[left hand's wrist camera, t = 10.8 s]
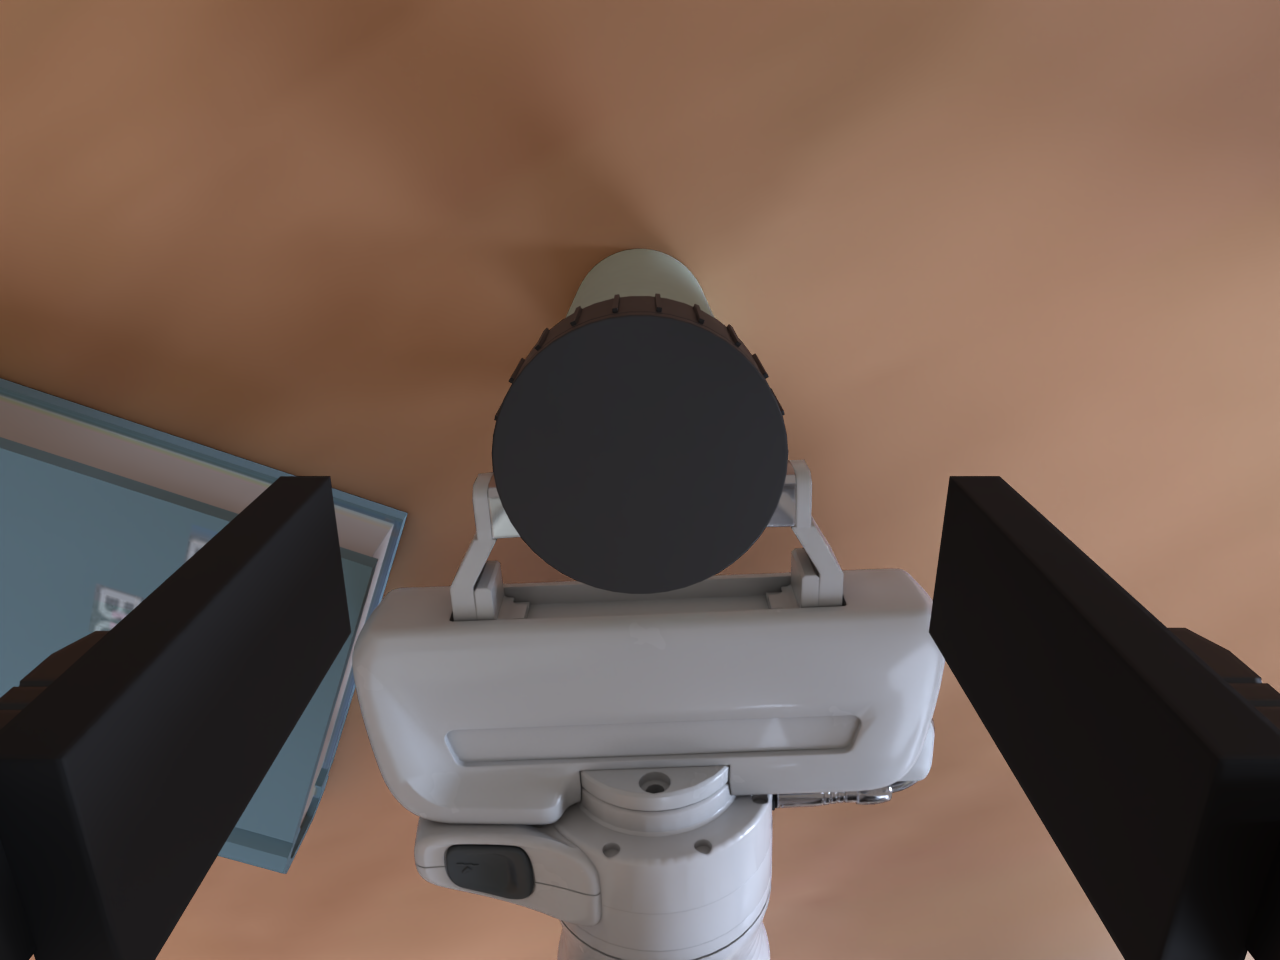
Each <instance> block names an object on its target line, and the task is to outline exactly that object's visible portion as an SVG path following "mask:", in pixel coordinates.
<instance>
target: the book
mask: <svg viewBox="0 0 1280 960" xmlns="http://www.w3.org/2000/svg"><path fill="white" fill-rule="evenodd" d="M280 476H294V475H291V474H288V473H285V472H282V471H279V470H276V469H273V468H270V467H267V466H264V465H261V464H258V463H255V462H252V461H249V460H246V459H243V458H240V457H237V456H234V455H231V454H228V453H225V452H222V451H219V450H216V449H213V448H210V447H207V446H203V445H200V444H197V443H194V442H191V441H188V440H185V439H182V438H179V437H176V436H173V435H170V434H167V433H164V432H161V431H158V430H155V429H152V428H149V427H146V426H143V425H140V424H137V423H134V422H131V421H128V420H125V419H122V418H119V417H116V416H113V415H110V414H107V413H104V412H101V411H98V410H95V409H92V408H89V407H86V406H83V405H80V404H77V403H74V402H71V401H68V400H65V399H62V398H59V397H56V396H53V395H50V394H47V393H44V392H41V391H38V390H34V389H31V388H28V387H25V386H22V385H19V384H16V383H13V382H10V381H7V380H4V379H1V378H0V698H1V697H2V696H3V695H4V694H5V693H6V692H8V691H9V690H10V689H11V688H12V687H19V685H20V680H22V679H23V678H24V677H25V676H26V675H27V674H29V673H30V672H31V671H32V670H33V669H35V668H36V667H37V666H38V665H39V664H40V663H42V662H43V661H44V660H45V659H46V658H47V657H49V656H50V655H51V654H52V653H54V652H56V651H58V650H60V649H62V648H64V647H66V646H68V645H70V644H72V643H73V642H75V641H77V640H79V639H81V638H83V637H85V636H87V635H89V634H91V633H92V632H94V631H110V630H111V629H112V628H113V627H114V626H116V625H117V624H118V623H119V622H120V621H121V620H122V619H123V618H124V617H126V616H127V615H128V614H129V613H130V612H131V611H132V610H133V609H134V608H135V607H137V606H138V605H139V604H140V603H141V602H142V601H143V600H144V599H145V598H147V597H148V596H149V595H150V594H151V593H152V592H153V591H154V590H155V589H156V588H158V587H159V586H160V585H161V584H162V583H163V582H164V581H165V580H166V579H168V578H169V577H170V576H171V575H172V574H173V573H174V572H175V571H176V570H177V569H179V568H180V567H181V566H182V565H183V564H184V563H185V562H186V561H187V560H189V559H190V558H191V557H192V556H193V555H194V554H195V553H196V552H197V551H198V550H200V549H201V548H202V547H203V546H204V545H205V544H206V543H207V542H208V541H210V540H211V539H212V538H213V537H214V536H215V535H216V534H217V533H218V532H219V531H221V530H222V529H223V528H224V527H225V526H226V525H227V524H228V523H229V522H231V521H232V520H233V519H234V518H235V517H236V516H237V515H238V514H239V513H240V512H242V511H243V510H244V509H245V508H246V507H247V506H248V505H249V504H250V503H252V502H253V501H254V500H255V499H256V498H257V497H258V496H259V495H260V494H261V493H263V492H264V491H265V490H266V489H267V488H268V487H269V486H270V485H271V484H273V483H274V482H275V481H276V480H277V479H278V478H279V477H280ZM332 493H333V501H334V508H335V515H336V523H337V530H338V538H339V545H340V552H341V560H342V567H343V574H344V582H345V589H346V596H347V604H348V611H349V619H350V626H351V634H350V635H349V637H348V639H347V640H346V642H345V644H344V645H343V647H342V649H341V650H340V652H339V654H338V655H337V657H336V659H335V660H334V662H333V664H332V665H331V667H330V669H329V670H328V672H327V674H326V675H325V677H324V679H323V680H322V682H321V684H320V685H319V687H318V689H317V690H316V692H315V694H314V695H313V697H312V699H311V700H310V702H309V704H308V705H307V707H306V709H305V710H304V712H303V714H302V715H301V717H300V719H299V720H298V722H297V724H296V725H295V727H294V729H293V730H292V732H291V734H290V735H289V737H288V739H287V740H286V742H285V744H284V745H283V747H282V749H281V750H280V752H279V754H278V755H277V757H276V759H275V760H274V762H273V764H272V765H271V767H270V769H269V770H268V772H267V774H266V775H265V777H264V779H263V780H262V782H261V784H260V785H259V787H258V789H257V790H256V792H255V794H254V795H253V797H252V799H251V801H250V802H249V804H248V806H247V807H246V809H245V811H244V812H243V814H242V816H241V817H240V819H239V821H238V822H237V824H236V826H235V827H234V829H233V831H232V832H231V834H230V836H229V837H228V839H227V841H226V842H225V844H224V846H223V847H222V849H221V851H220V852H219V854H218V856H221V857H225V858H228V859H232V860H236V861H239V862H243V863H247V864H250V865H254V866H257V867H261V868H265V869H268V870H272V871H276V872H279V873H283V874H287V871H288V869H289V867H290V865H291V863H292V861H293V859H294V857H295V855H296V853H297V851H298V849H299V847H300V845H301V843H302V841H303V839H304V837H305V835H306V833H307V831H308V829H309V827H310V824H311V822H312V820H313V818H314V815H315V813H316V810H317V808H318V805H319V803H320V800H321V798H322V795H323V792H324V790H325V786H326V783H327V780H328V773H329V770H330V768H331V765H332V763H333V760H334V756H335V753H336V750H337V746H338V743H339V740H340V736H341V733H342V730H343V726H344V723H345V720H346V716H347V713H348V710H349V706H350V703H351V700H352V696H353V693H354V690H355V687H356V686H355V681H354V675H353V667H352V656H353V650H354V646H355V643H356V641H357V638H358V636H359V634H360V632H361V630H362V628H363V626H364V624H365V623H366V621H367V620H368V618H369V617H370V615H371V614H372V612H373V611H374V609H375V608H376V607H377V606H378V605H379V603H380V602H381V600H382V597H383V593H384V590H385V587H386V583H387V580H388V577H389V574H390V570H391V567H392V564H393V560H394V557H395V554H396V550H397V547H398V544H399V540H400V537H401V534H402V530H403V527H404V524H405V520H406V517H407V514H408V513H406V512H403V511H400V510H397V509H394V508H391V507H388V506H385V505H382V504H379V503H376V502H372V501H369V500H366V499H363V498H360V497H357V496H354V495H351V494H348V493H345V492H342V491H339V490H336V489H333V488H332Z"/></svg>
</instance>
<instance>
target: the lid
mask: <svg viewBox="0 0 1280 960" xmlns="http://www.w3.org/2000/svg"><path fill="white" fill-rule="evenodd" d="M767 377H769V376H768V374H767V373H766V371H765V369H764V367H763V366H762V364H761V362H760V360H759V359H758V357H757V355H756V354H754V355H751V353H750V352H749V350H748V349H747V348H746V346H745V345H744V344H743V342H742V341H741V340H740V339H739V338H738V337H737V335H736V333H735V331H734V329H733V327H732V326H731V325H728V326H727V327H726V326H725V325H723V324H722V323H721V322H720V321H718V320H717V319H716V318H714V317H712V316H710V315H709V314H707V313H705V312H704V311H702V310H701V309H700V307H699V305H697V304H694V306H690V305H688V304H686V303H682V302H679V301H675V300H671V299H668V298H661V296H660V294H657V293H655V297H653V296H627V297H620V295H619V294H616V295H614V298H612V299H609V300H605V301H601V302H598V303H594V304H592V305H590V306H587V307H585V308H583V309H582V308H581V306H579V307H577V308H576V309H575V312H574V313H573V314H571V315H570V316H568V317H566V318H564V319H563V320H562V321H560V322H559V323H558V324H557V325H555V326H554V327H553V328H551V329H550V330H549V329H548V328H546V329H545V330H544V331H543V333H542V335H541V337H540V339H539V340H538V342H537V344H536V345H535V346H534V348H533V349H532V351H531V352H530V353H529V355H528V356H527V358H526V359H523V358H522V359H521V360H520V362H519V364H518V366H517V367H516V369H515V371H514V373H513V374H512V376H511V378H510V380H509V382H510V383H512V385H511V387H510V389H509V390H508V392H507V394H506V396H505V398H504V400H503V402H502V404H501V406H500V408H499V410H498V411H497V413H496V415H495V419H494V420H496V425H495V429H494V434H493V445H492V464H493V474H494V479H495V484H496V489H497V492H498V495H499V498H500V501H501V503H502V506H503V508H504V510H505V512H506V514H507V516H508V518H509V520H510V522H511V524H512V525H513V527H514V528H515V530H516V531H517V532H518V534H519V535H520V537H521V538H522V539H523V540H524V541H525V543H526V544H527V545H528V546H529V547H530V548H531V549H532V550H533V551H534V552H535V553H536V554H537V555H538V556H539V557H541V558H542V559H543V560H544V561H545V562H546V563H548V564H549V565H551V566H552V567H554V568H555V569H556V570H558V571H559V572H561V573H563V574H565V575H567V576H569V577H570V578H572V579H574V580H576V581H578V582H581V583H584V584H587V585H589V586H592V587H595V588H599V589H603V590H607V591H612V592H619V593H627V594H653V593H661V592H669V591H673V590H677V589H681V588H685V587H688V586H691V585H693V584H696V583H699V582H702V581H704V580H706V579H708V578H710V577H712V576H713V575H715V574H717V573H719V572H721V571H722V570H724V569H725V568H726V567H728V566H729V565H731V564H732V563H734V562H735V561H736V560H737V559H738V558H740V557H741V556H742V555H743V554H744V553H745V552H746V551H747V550H748V549H749V548H750V547H751V546H752V545H753V544H754V543H755V541H756V540H757V539H758V538H759V537H760V535H761V534H762V532H763V531H764V530H765V528H766V527H767V525H768V524H769V522H770V520H771V518H772V516H773V514H774V512H775V510H776V508H777V506H778V503H779V501H780V498H781V495H782V492H783V489H784V484H785V479H786V474H787V464H788V444H787V434H786V429H785V425H784V420H783V416H782V415H784V411H783V409H782V407H781V405H780V403H779V401H778V400H777V398H776V396H775V394H774V392H773V391H772V389H771V388H770V387H769V385H768V383H767V381H766V378H767Z"/></svg>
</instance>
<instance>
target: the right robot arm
mask: <svg viewBox="0 0 1280 960" xmlns="http://www.w3.org/2000/svg"><path fill="white" fill-rule="evenodd" d="M473 507H474V516H475V524H476V533H475V535H474V537H473V539H472V541H471V543H470V545H469V547H468V549H467V551H466V553H465V555H464V557H463V559H462V561H461V564H460V566H459V568H458V571H457V573H456V575H455V578H454V580H453V582H452V584H451V586H436V587H406V588H397V589H394V590H392V591H390V592H389V593H388V594H387V595H386V596H385V597H384V598H383V600H382V601H381V602H380V603H379V605H378V606H377V607H376V608H375V609H374V611H373V612H372V614H371V615H370V617H369V618H368V620H367V621H366V623H365V624H364V626H363V628H362V630H361V632H360V634H359V636H358V638H357V641H356V643H355V646H354V650H353V656H352V667H353V675H354V681H355V686H356V691H357V696H358V700H359V704H360V708H361V712H362V716H363V720H364V723H365V727H366V730H367V734H368V737H369V740H370V743H371V747H372V749H373V752H374V755H375V758H376V761H377V764H378V767H379V769H380V772H381V775H382V777H383V779H384V781H385V783H386V785H387V787H388V788H389V790H390V792H391V793H392V795H393V796H394V797H395V798H396V800H397V801H398V802H399V803H400V804H401V805H402V806H403V807H405V808H406V809H407V810H409V811H410V812H412V813H413V814H415V815H417V816H419V821H418V827H417V833H416V840H415V848H414V857H415V864H416V868H417V871H418V872H419V874H420V876H421V877H422V878H423V879H425V880H426V881H428V882H430V883H432V884H434V885H437V886H441V887H445V888H449V889H454V890H459V891H464V892H469V893H473V894H478V895H482V896H487V897H491V898H495V899H499V900H503V901H506V902H510V903H513V904H517V905H520V906H524V907H527V908H530V909H533V910H536V911H539V912H541V913H544V914H547V915H549V916H552V917H554V918H557V919H559V921H560V923H561V925H562V932H561V936H560V940H559V946H558V956H557V960H770V949H769V942H768V937H767V933H766V929H765V927H764V924H763V921H762V920H763V917H764V915H765V912H766V909H767V906H768V903H769V898H770V892H771V877H772V810H775V808H780V807H781V808H790V807H814V806H822V804H823V805H828V804H829V803H830V804H835V803H843V802H845V803H852V802H855V803H856V804H861V805H872V804H879V803H884V802H887V801H890V800H891V798H892V793H894V792H898V791H902V790H904V789H906V788H908V787H910V786H912V785H914V784H915V783H916V782H918V781H920V780H923V779H924V778H925V777H926V776H927V774H928V773H929V771H930V768H931V765H932V756H933V745H934V733H935V727H934V721H933V718H932V716H933V713H934V710H935V706H936V702H937V698H938V694H939V690H940V685H941V680H942V675H943V670H944V664H945V659H944V657H943V655H942V654H941V652H940V650H939V649H938V647H937V645H936V644H935V642H934V640H933V639H932V637H931V635H930V634H929V626H930V619H931V611H932V604H933V600H932V599H931V597H930V596H929V595H928V594H927V592H926V591H925V590H924V589H923V588H922V587H921V585H920V584H919V583H918V582H917V581H916V580H915V579H914V578H913V577H912V576H911V575H910V574H909V573H907V572H906V571H904V570H902V569H895V568H886V569H862V570H842V569H841V567H840V565H839V563H838V561H837V559H836V557H835V555H834V553H833V551H832V548H831V546H830V545H829V543H828V541H827V540H826V538H825V537H824V535H823V533H822V532H821V530H820V528H819V527H818V525H817V524H816V522H815V520H814V519H813V517H812V515H811V508H812V479H811V472H810V469H809V467H808V466H807V464H806V462H805V460H790V461H789V460H788V464H787V474H786V479H785V484H784V489H783V492H782V495H781V498H780V501H779V503H778V506H777V508H776V510H775V512H774V514H773V516H772V518H771V520H770V522H769V524H768V525H767V527H788V526H791V528H792V530H793V531H794V533H795V535H796V536H797V538H798V539H799V541H800V543H801V544H802V546H803V548H795V549H794V550H793V551H792V552H791V572H787V573H762V574H737V575H713V576H712V577H710V578H708V579H706V580H704V581H702V582H699V583H696V584H693V585H691V586H688V587H685V588H681V589H677V590H673V591H669V592H661V593H653V594H627V593H619V592H612V591H607V590H603V589H599V588H595V587H592V586H589V585H587V584H584V583H581V582H578V581H562V582H537V583H512V584H503V580H502V573H501V565H500V562H498V561H487V562H486V560H487V558H488V556H489V554H490V552H491V550H492V548H493V546H494V544H495V542H496V540H497V538H511V537H520V535H519V534H518V532H517V531H516V530H515V528H514V527H513V525H512V524H511V522H510V520H509V518H508V516H507V514H506V512H505V510H504V508H503V506H502V503H501V501H500V498H499V495H498V492H497V489H496V484H495V479H494V474H493V472H491V473H480V474H478V476H477V478H476V480H475V482H474V485H473ZM485 562H486V563H485Z"/></svg>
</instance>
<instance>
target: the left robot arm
mask: <svg viewBox="0 0 1280 960" xmlns="http://www.w3.org/2000/svg"><path fill="white" fill-rule="evenodd" d="M350 634H351V626H350V619H349V611H348V604H347V596H346V589H345V582H344V574H343V567H342V560H341V552H340V545H339V538H338V530H337V523H336V515H335V508H334V501H333V493H332V486H331V479H330V476H280V477H279V478H278V479H277V480H276V481H275V482H274V483H273V484H271V485H270V486H269V487H268V488H267V489H266V490H265V491H264V492H263V493H261V494H260V495H259V496H258V497H257V498H256V499H255V500H254V501H253V502H252V503H250V504H249V505H248V506H247V507H246V508H245V509H244V510H243V511H242V512H240V513H239V514H238V515H237V516H236V517H235V518H234V519H233V520H232V521H231V522H229V523H228V524H227V525H226V526H225V527H224V528H223V529H222V530H221V531H219V532H218V533H217V534H216V535H215V536H214V537H213V538H212V539H211V540H210V541H208V542H207V543H206V544H205V545H204V546H203V547H202V548H201V549H200V550H198V551H197V552H196V553H195V554H194V555H193V556H192V557H191V558H190V559H189V560H187V561H186V562H185V563H184V564H183V565H182V566H181V567H180V568H179V569H177V570H176V571H175V572H174V573H173V574H172V575H171V576H170V577H169V578H168V579H166V580H165V581H164V582H163V583H162V584H161V585H160V586H159V587H158V588H156V589H155V590H154V591H153V592H152V593H151V594H150V595H149V596H148V597H147V598H145V599H144V600H143V601H142V602H141V603H140V604H139V605H138V606H137V607H135V608H134V609H133V610H132V611H131V612H130V613H129V614H128V615H127V616H126V617H124V618H123V619H122V620H121V621H120V622H119V623H118V624H117V625H116V626H114V627H113V628H112V629H111V630H110V631H94V632H92V633H91V634H89V635H87V636H85V637H83V638H81V639H79V640H77V641H75V642H73V643H72V644H70V645H68V646H66V647H64V648H62V649H60V650H58V651H56V652H54V653H52V654H51V655H50V656H49V657H47V658H46V659H45V660H44V661H43V662H42V663H40V664H39V665H38V666H37V667H36V668H35V669H33V670H32V671H31V672H30V673H29V674H27V675H26V676H25V677H24V678H23V679H22V680H20V685H19V687H12V688H11V689H10V690H9V691H8V692H6V693H5V694H4V695H3V696H2V697H1V698H0V960H29V959H30V958H31V956H32V955H33V954H34V957H35V960H155V959H156V957H157V956H158V954H159V952H160V951H161V949H162V947H163V946H164V944H165V942H166V941H167V939H168V937H169V936H170V934H171V932H172V931H173V929H174V927H175V926H176V924H177V922H178V921H179V919H180V917H181V916H182V914H183V912H184V911H185V909H186V907H187V906H188V904H189V902H190V901H191V899H192V897H193V896H194V894H195V892H196V891H197V889H198V887H199V886H200V884H201V882H202V881H203V879H204V877H205V876H206V874H207V872H208V871H209V869H210V867H211V866H212V864H213V862H214V861H215V859H216V857H217V856H218V854H219V852H220V851H221V849H222V847H223V846H224V844H225V842H226V841H227V839H228V837H229V836H230V834H231V832H232V831H233V829H234V827H235V826H236V824H237V822H238V821H239V819H240V817H241V816H242V814H243V812H244V811H245V809H246V807H247V806H248V804H249V802H250V801H251V799H252V797H253V795H254V794H255V792H256V790H257V789H258V787H259V785H260V784H261V782H262V780H263V779H264V777H265V775H266V774H267V772H268V770H269V769H270V767H271V765H272V764H273V762H274V760H275V759H276V757H277V755H278V754H279V752H280V750H281V749H282V747H283V745H284V744H285V742H286V740H287V739H288V737H289V735H290V734H291V732H292V730H293V729H294V727H295V725H296V724H297V722H298V720H299V719H300V717H301V715H302V714H303V712H304V710H305V709H306V707H307V705H308V704H309V702H310V700H311V699H312V697H313V695H314V694H315V692H316V690H317V689H318V687H319V685H320V684H321V682H322V680H323V679H324V677H325V675H326V674H327V672H328V670H329V669H330V667H331V665H332V664H333V662H334V660H335V659H336V657H337V655H338V654H339V652H340V650H341V649H342V647H343V645H344V644H345V642H346V640H347V639H348V637H349V635H350ZM929 634H930V635H931V637H932V639H933V640H934V642H935V644H936V645H937V647H938V649H939V650H940V652H941V654H942V655H943V657H944V659H945V660H946V662H947V664H948V665H949V667H950V669H951V670H952V672H953V674H954V675H955V677H956V679H957V680H958V682H959V684H960V685H961V687H962V689H963V690H964V692H965V694H966V695H967V697H968V699H969V700H970V702H971V704H972V705H973V707H974V709H975V710H976V712H977V714H978V715H979V717H980V719H981V720H982V722H983V724H984V725H985V727H986V729H987V730H988V732H989V734H990V735H991V737H992V739H993V740H994V742H995V744H996V745H997V747H998V749H999V750H1000V752H1001V754H1002V755H1003V757H1004V759H1005V760H1006V762H1007V764H1008V765H1009V767H1010V769H1011V770H1012V772H1013V774H1014V775H1015V777H1016V779H1017V781H1018V782H1019V784H1020V786H1021V787H1022V789H1023V791H1024V792H1025V794H1026V796H1027V797H1028V799H1029V801H1030V802H1031V804H1032V806H1033V807H1034V809H1035V811H1036V812H1037V814H1038V816H1039V817H1040V819H1041V821H1042V822H1043V824H1044V826H1045V827H1046V829H1047V831H1048V832H1049V834H1050V836H1051V837H1052V839H1053V841H1054V842H1055V844H1056V846H1057V847H1058V849H1059V851H1060V852H1061V854H1062V856H1063V857H1064V859H1065V861H1066V862H1067V864H1068V866H1069V867H1070V869H1071V871H1072V872H1073V874H1074V876H1075V877H1076V879H1077V881H1078V882H1079V884H1080V886H1081V887H1082V889H1083V891H1084V892H1085V894H1086V896H1087V897H1088V899H1089V901H1090V902H1091V904H1092V906H1093V907H1094V909H1095V911H1096V912H1097V914H1098V916H1099V917H1100V919H1101V921H1102V922H1103V924H1104V926H1105V927H1106V929H1107V931H1108V932H1109V934H1110V936H1111V937H1112V939H1113V941H1114V942H1115V944H1116V946H1117V947H1118V949H1119V951H1120V952H1121V954H1122V956H1123V957H1124V959H1125V960H1245V957H1246V954H1247V951H1249V953H1250V954H1251V955H1252V957H1253V958H1254V959H1255V960H1280V693H1278V692H1277V691H1276V690H1275V689H1274V688H1273V687H1271V686H1270V685H1269V684H1268V683H1262V682H1261V677H1260V676H1258V675H1257V674H1256V673H1255V672H1254V671H1252V670H1251V669H1250V668H1249V667H1248V666H1247V665H1245V664H1244V663H1243V662H1242V661H1241V660H1240V659H1238V658H1237V657H1236V656H1235V655H1234V654H1232V653H1231V652H1230V651H1229V650H1227V649H1225V648H1223V647H1221V646H1219V645H1217V644H1215V643H1213V642H1211V641H1209V640H1207V639H1206V638H1204V637H1202V636H1200V635H1198V634H1196V633H1194V632H1192V631H1190V630H1188V629H1186V628H1167V627H1166V626H1164V625H1163V624H1162V623H1161V622H1160V621H1159V620H1158V619H1157V618H1156V617H1154V616H1153V615H1152V614H1151V613H1150V612H1149V611H1148V610H1147V609H1146V608H1145V607H1143V606H1142V605H1141V604H1140V603H1139V602H1138V601H1137V600H1136V599H1135V598H1133V597H1132V596H1131V595H1130V594H1129V593H1128V592H1127V591H1126V590H1125V589H1124V588H1122V587H1121V586H1120V585H1119V584H1118V583H1117V582H1116V581H1115V580H1114V579H1112V578H1111V577H1110V576H1109V575H1108V574H1107V573H1106V572H1105V571H1104V570H1103V569H1101V568H1100V567H1099V566H1098V565H1097V564H1096V563H1095V562H1094V561H1093V560H1091V559H1090V558H1089V557H1088V556H1087V555H1086V554H1085V553H1084V552H1083V551H1082V550H1080V549H1079V548H1078V547H1077V546H1076V545H1075V544H1074V543H1073V542H1072V541H1070V540H1069V539H1068V538H1067V537H1066V536H1065V535H1064V534H1063V533H1062V532H1061V531H1059V530H1058V529H1057V528H1056V527H1055V526H1054V525H1053V524H1052V523H1051V522H1049V521H1048V520H1047V519H1046V518H1045V517H1044V516H1043V515H1042V514H1041V513H1040V512H1038V511H1037V510H1036V509H1035V508H1034V507H1033V506H1032V505H1031V504H1030V503H1028V502H1027V501H1026V500H1025V499H1024V498H1023V497H1022V496H1021V495H1020V494H1019V493H1017V492H1016V491H1015V490H1014V489H1013V488H1012V487H1011V486H1010V485H1009V484H1007V483H1006V482H1005V481H1004V480H1003V479H1002V478H1001V477H1000V476H950V479H949V486H948V493H947V501H946V508H945V515H944V523H943V530H942V538H941V545H940V552H939V560H938V567H937V574H936V582H935V589H934V596H933V604H932V611H931V619H930V626H929Z"/></svg>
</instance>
